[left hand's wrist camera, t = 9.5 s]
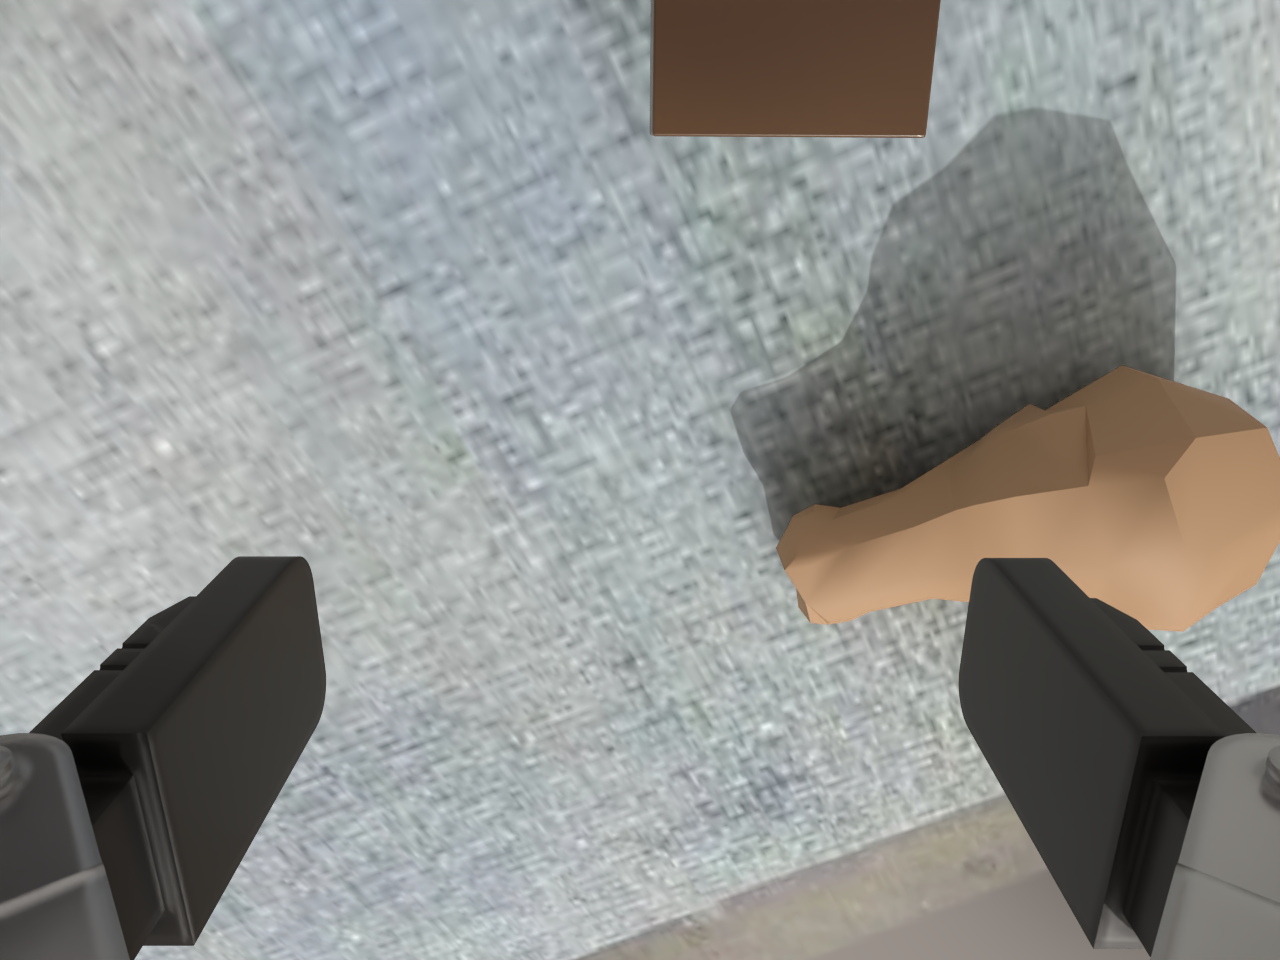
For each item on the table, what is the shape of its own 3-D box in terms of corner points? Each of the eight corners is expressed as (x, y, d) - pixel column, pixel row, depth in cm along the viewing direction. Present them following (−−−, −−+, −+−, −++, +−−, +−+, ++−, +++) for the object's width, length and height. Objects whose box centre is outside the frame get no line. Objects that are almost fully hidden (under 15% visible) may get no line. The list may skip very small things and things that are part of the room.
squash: (1229, 514, 42) (1343, 646, 35) (811, 613, 47) (831, 748, 40) (1219, 307, 37) (1351, 408, 30) (750, 441, 42) (760, 558, 34)
